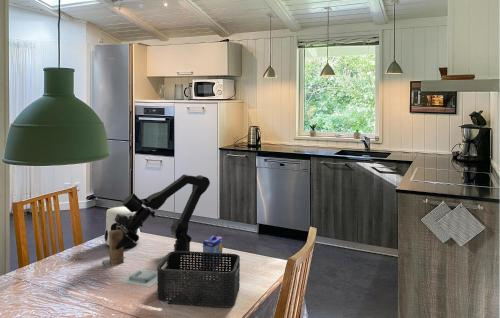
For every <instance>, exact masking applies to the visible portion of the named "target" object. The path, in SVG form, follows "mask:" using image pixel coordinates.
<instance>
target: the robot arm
mask: <svg viewBox="0 0 500 318" xmlns="http://www.w3.org/2000/svg"><path fill="white" fill-rule="evenodd" d="M210 183H211V182H210V179H209V178H208V177H207V176H204V175H202V174H201V175H196V176H195V175H188V174H182V175H181V176H180V177H179V178H177V179H176V180H175V181H173V182H171V183H170V184H169V185H168V186H166V187H165V188H163V189H162V190H160V191H157V192H155V193H152V194H150V195H148V196H147V197H146V198H141V199H140V198H139V197H138V196H137V195H136V194H135V193H134V192H132V194H130V195H128V196H126V197H125V198H124V200H123V201H122V203H121V204H122V206H123V207H126V208H127V209H128V210H129V211H131V212H136V213H135V214H134V215H133V216H132V215H131V216H129V217H127V216H125V215H120V214H117V215H116V217H115V221H116V222H117V225H118V226H117V225H116V227H117V230H122V231H123V238H122V239H121V241H120V242H119V243H118V245H117V246H116V249H117V250H118V249H120V248H122V247H124V246H126V245H129V244H131V243H134V241H135V242H137V241H138V240H139V236H138V235H137V234H136V233H137V232H136V231H137V229H138V228H139V229H140V227H141V228H143V227H144V223H145V222H146V221H147V219H149V218H150V217H152V218H156V215H155V213H156V212H155V211H156V210H159V209H160V208H161V207H162V206H163V205H164V204H165V202H166V200H168V199H169V198H170V197H171V196H173V195H174V194H175V193H177V192H178V191H180V190H182V188H184V187H185V186H186V185H192V187H191V188H192V189H191V193H190V195H189V197H188V199H187V202H186V205H185V206H184V208H183V211H182V213H181V215H180V216H179V218H178V220H173V222H172V225H171V226H170V228H169V229H170V233H171V235H172V236H173V237H174V239H175V240H174V241H175V243H174V244H173V245H174V249H173V250H174V251H190V252H191V250H190V249H191V248H190V247H191V245H190V244H191V241H192V237H191V236H190V235H189V234H188V231H189V223H190V220H191V219H192V216H193V213H194V212H195V209H196V207H197V204H198V203H199V202H200V201H199V200H200V198H201V196H202V195H203V194H205V192H206V191H207V190H208V188H209V187H210V185H211V184H210ZM139 241H140V240H139ZM124 248H125V247H124ZM184 254H185V253H184ZM187 254H188V253H187Z"/></svg>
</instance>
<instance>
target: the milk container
mask: <svg viewBox="0 0 500 318" xmlns="http://www.w3.org/2000/svg"><path fill="white" fill-rule="evenodd" d="M135 213H136V212H131V211H129V210H128V209H127V208H126V207H125V206H115V207H110V208H108V209H107V210H106V214H105V216H106V218H105V224H106V226H105V232H104V242H105V245H107V246H108V247H109V231H112V230H117V227H116V225H117V222H116V221H115V217H116V215H117V214H120V215H125V216H127V217H129V216H131V215H132V216H133V215H134V214H135ZM117 226H118V225H117ZM136 232H137V233H136V234H137V235H138V236H139V240H138V241H137V242H135V241H134V243H131V244H129V245H126V246H124V248H129V247H133V246H136V245H137V244H138V243H139V242H140V239H141V231H140V227H139V228H138V229H137V231H136Z"/></svg>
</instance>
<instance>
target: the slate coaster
mask: <svg viewBox="0 0 500 318" xmlns="http://www.w3.org/2000/svg"><path fill="white" fill-rule="evenodd" d="M125 258H126V256H124V259H125ZM102 264H104V267H105V268H106V269H108V268H109V267H111V266H113V265H112V264H111V263H110V258H107V259H103V260H102Z"/></svg>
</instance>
